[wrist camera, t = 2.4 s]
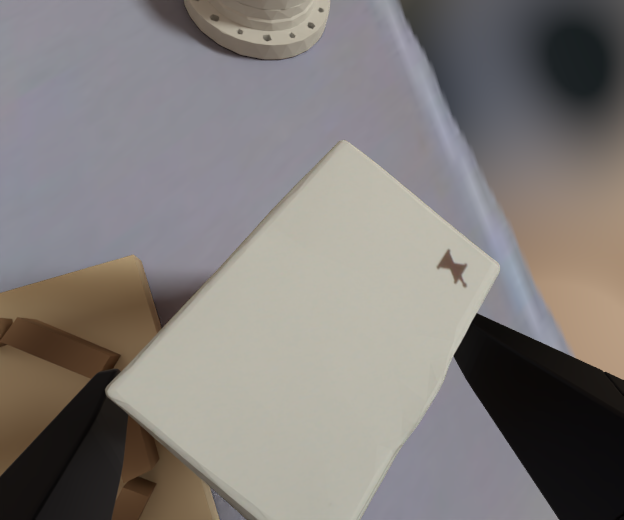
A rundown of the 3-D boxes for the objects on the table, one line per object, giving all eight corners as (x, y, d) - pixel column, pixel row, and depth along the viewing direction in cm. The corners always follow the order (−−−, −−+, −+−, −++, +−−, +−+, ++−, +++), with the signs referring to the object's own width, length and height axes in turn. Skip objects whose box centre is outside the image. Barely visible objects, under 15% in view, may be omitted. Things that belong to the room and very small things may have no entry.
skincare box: (279, 267, 17) (348, 124, 6) (338, 316, 17) (515, 265, 6) (201, 357, 15) (84, 394, 4) (267, 412, 15) (335, 605, 4)
